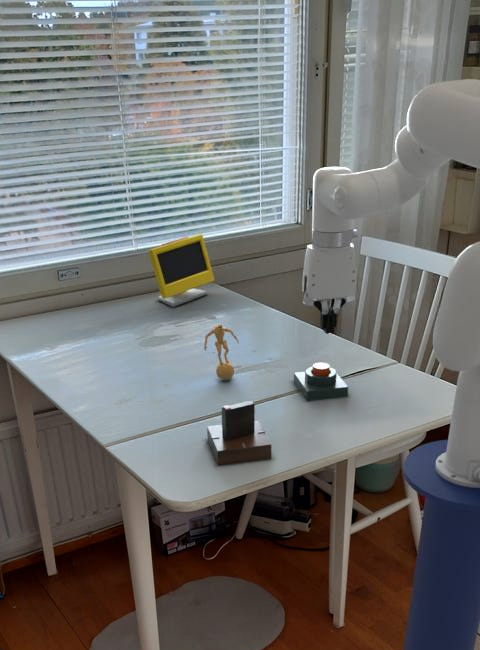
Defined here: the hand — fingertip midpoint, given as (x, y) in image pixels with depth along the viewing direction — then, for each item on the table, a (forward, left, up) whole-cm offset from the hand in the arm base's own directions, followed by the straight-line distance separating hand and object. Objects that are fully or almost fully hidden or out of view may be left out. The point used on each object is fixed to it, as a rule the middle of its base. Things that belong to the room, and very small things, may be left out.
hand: (328, 331), depth 161 cm
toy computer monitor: (+68, +20, -13) cm, 73 cm away
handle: (-21, +24, -10) cm, 33 cm away
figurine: (+12, +20, -13) cm, 27 cm away
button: (+1, +1, -10) cm, 10 cm away
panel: (-21, +24, -13) cm, 34 cm away
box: (+1, +1, -13) cm, 13 cm away
